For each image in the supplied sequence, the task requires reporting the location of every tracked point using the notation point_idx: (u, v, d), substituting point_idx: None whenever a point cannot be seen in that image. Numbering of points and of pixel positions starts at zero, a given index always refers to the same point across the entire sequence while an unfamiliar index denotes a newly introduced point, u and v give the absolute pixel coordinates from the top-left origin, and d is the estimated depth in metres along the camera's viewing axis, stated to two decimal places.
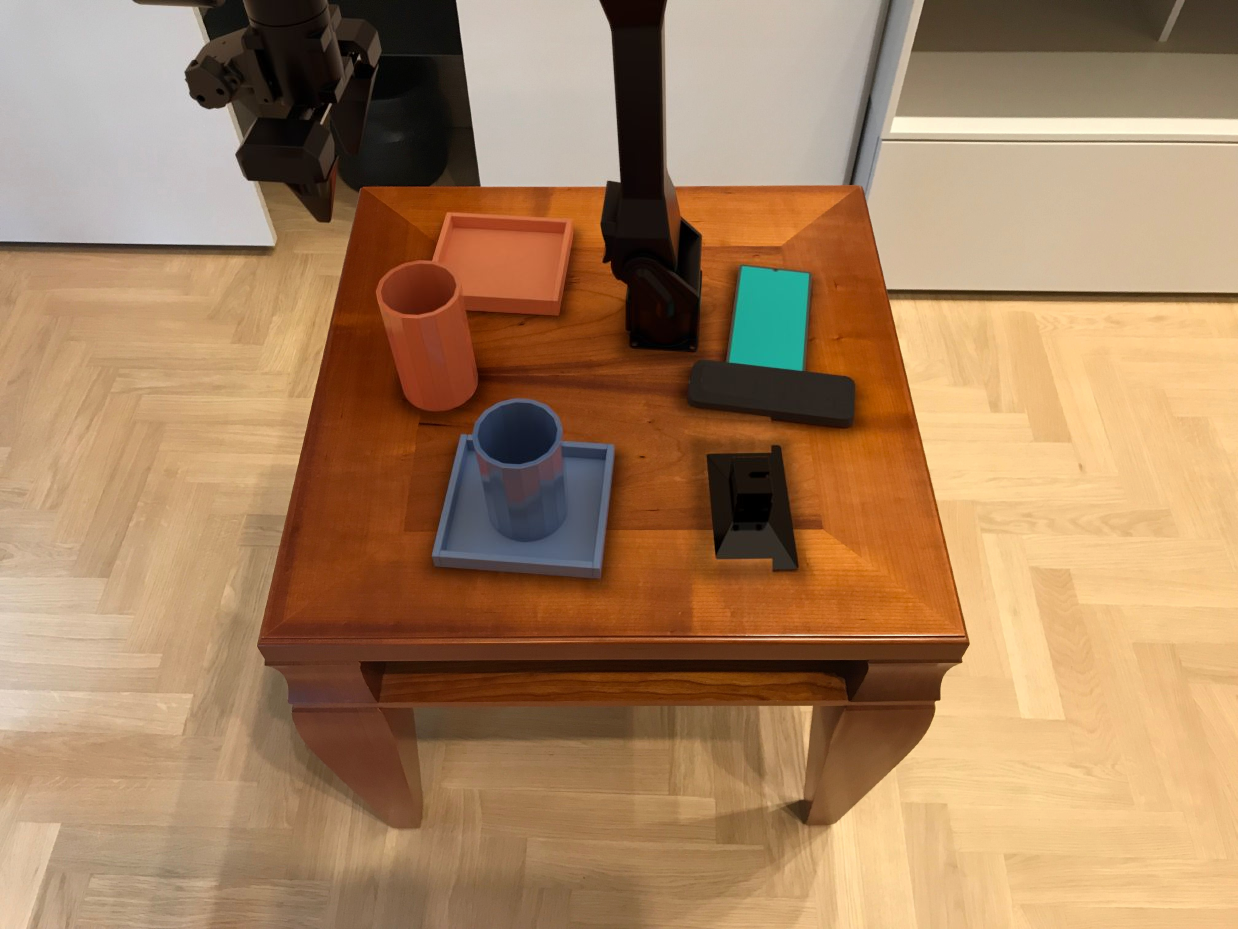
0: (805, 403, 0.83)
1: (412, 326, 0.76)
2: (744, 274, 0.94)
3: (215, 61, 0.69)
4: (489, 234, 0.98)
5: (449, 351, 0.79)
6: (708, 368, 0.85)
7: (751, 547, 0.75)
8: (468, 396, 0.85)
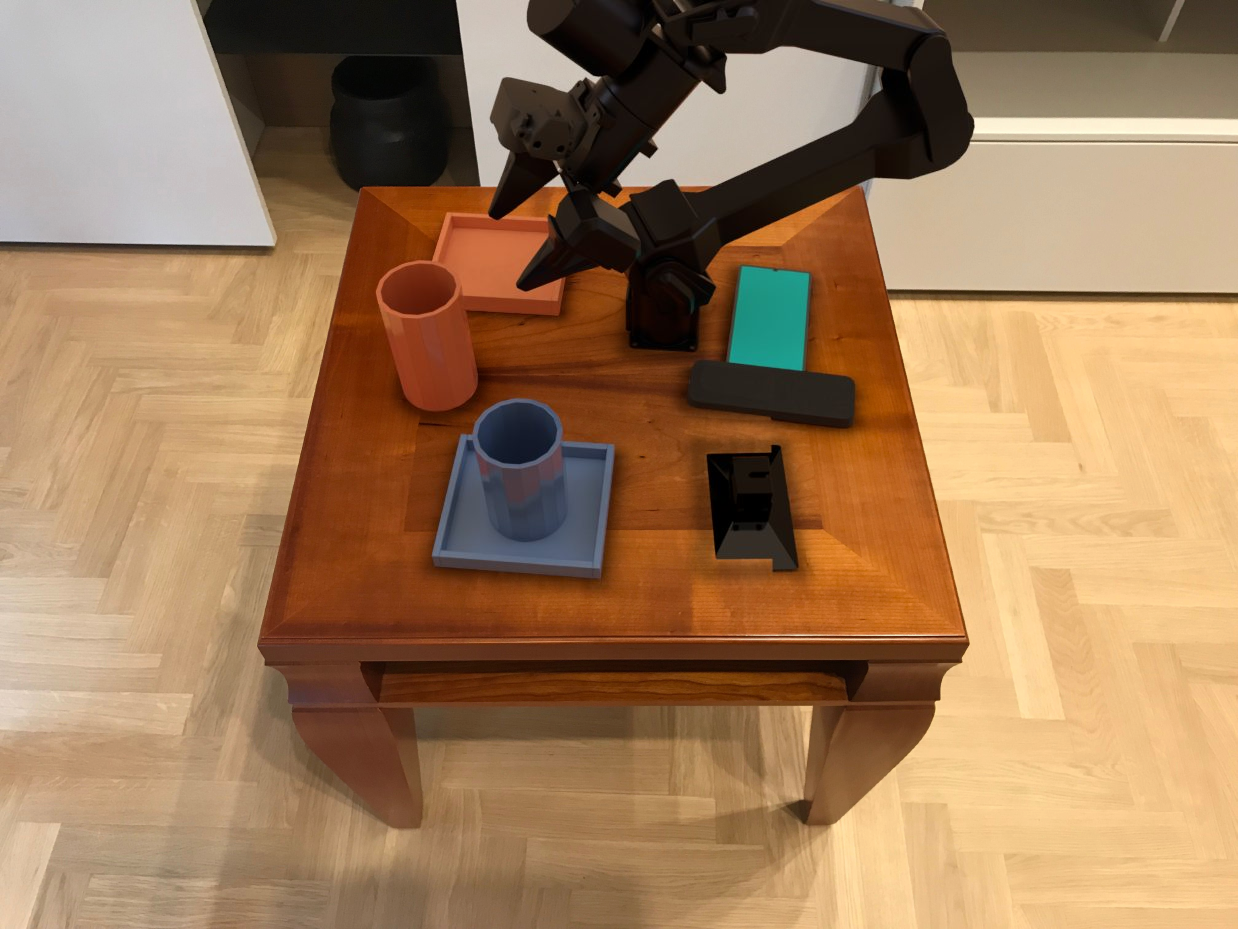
0: (805, 403, 0.83)
1: (412, 326, 0.76)
2: (744, 274, 0.94)
3: None
4: (489, 234, 0.98)
5: (449, 351, 0.79)
6: (708, 368, 0.85)
7: (751, 547, 0.75)
8: (468, 396, 0.85)
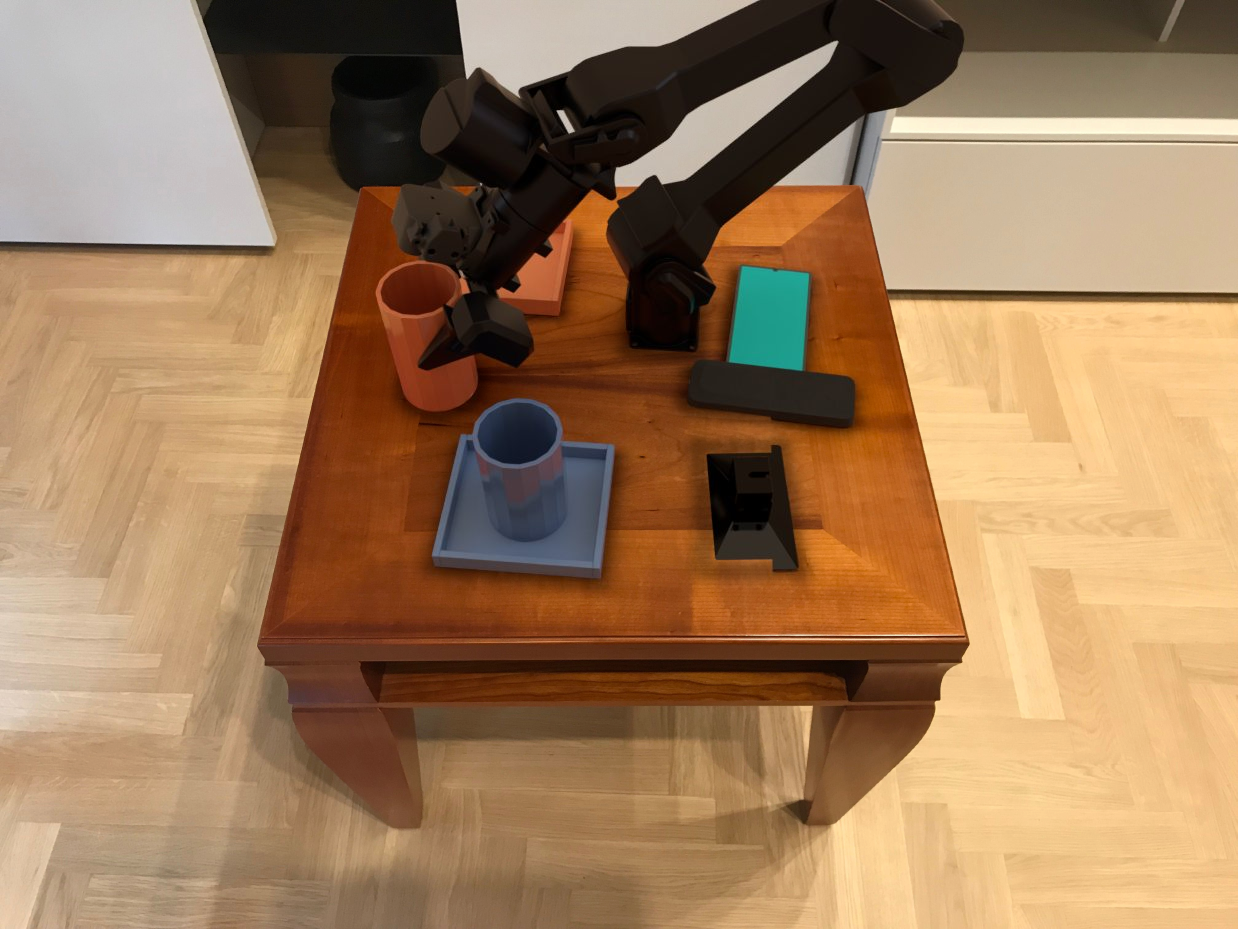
0: (805, 403, 0.83)
1: (412, 326, 0.76)
2: (744, 274, 0.94)
3: None
4: None
5: None
6: (708, 368, 0.85)
7: (751, 547, 0.75)
8: (468, 396, 0.85)
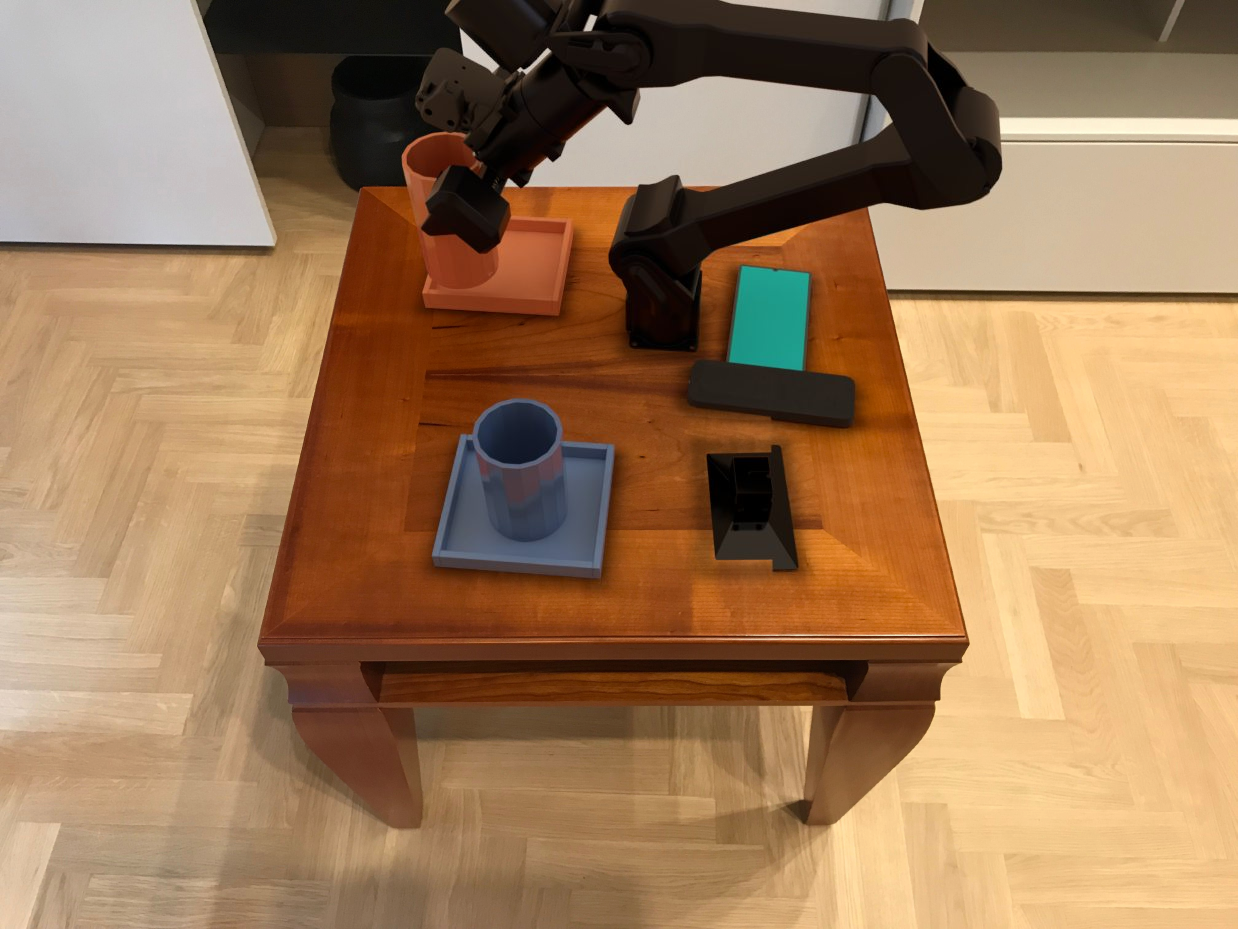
0: (805, 403, 0.83)
1: (418, 186, 0.79)
2: (744, 274, 0.94)
3: (463, 96, 0.72)
4: None
5: None
6: (708, 367, 0.85)
7: (751, 547, 0.75)
8: (474, 280, 0.87)
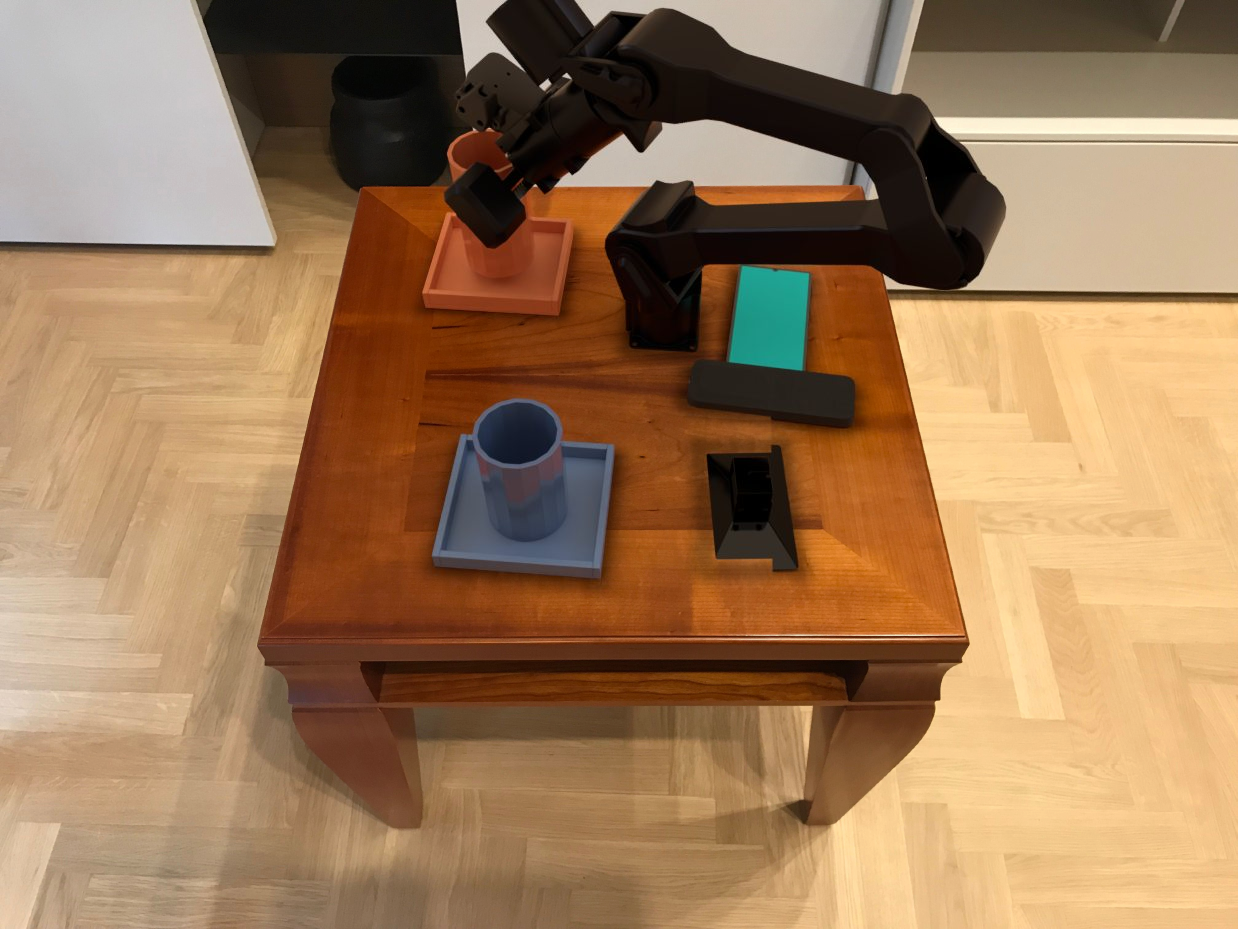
0: (805, 403, 0.83)
1: (455, 175, 0.84)
2: (744, 274, 0.94)
3: (496, 100, 0.76)
4: None
5: None
6: (708, 367, 0.85)
7: (751, 547, 0.75)
8: (502, 271, 0.92)
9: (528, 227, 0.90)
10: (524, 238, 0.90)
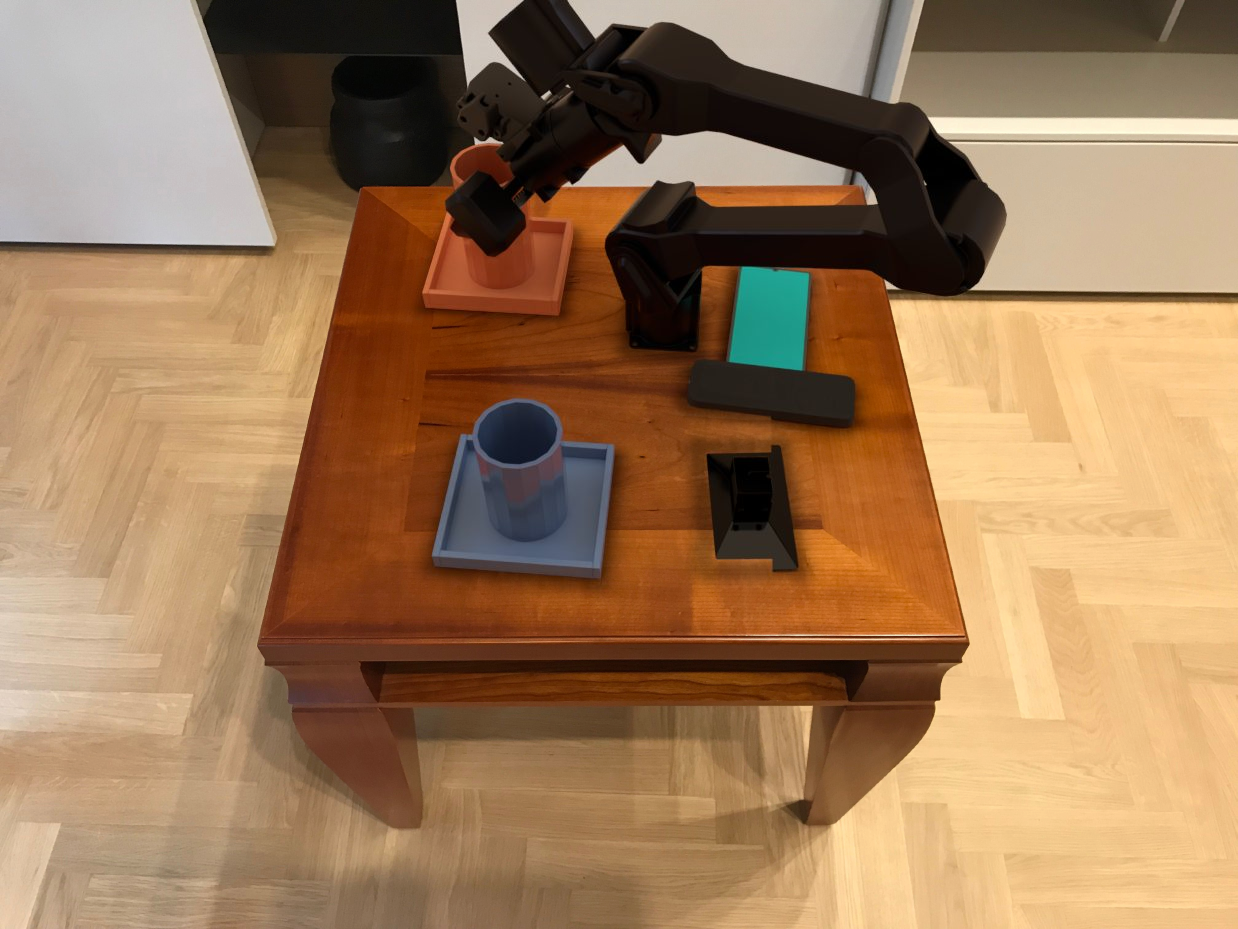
0: (805, 403, 0.83)
1: None
2: (744, 274, 0.94)
3: (497, 111, 0.77)
4: None
5: None
6: (708, 367, 0.85)
7: (751, 547, 0.75)
8: (503, 283, 0.93)
9: (529, 239, 0.91)
10: (525, 250, 0.91)
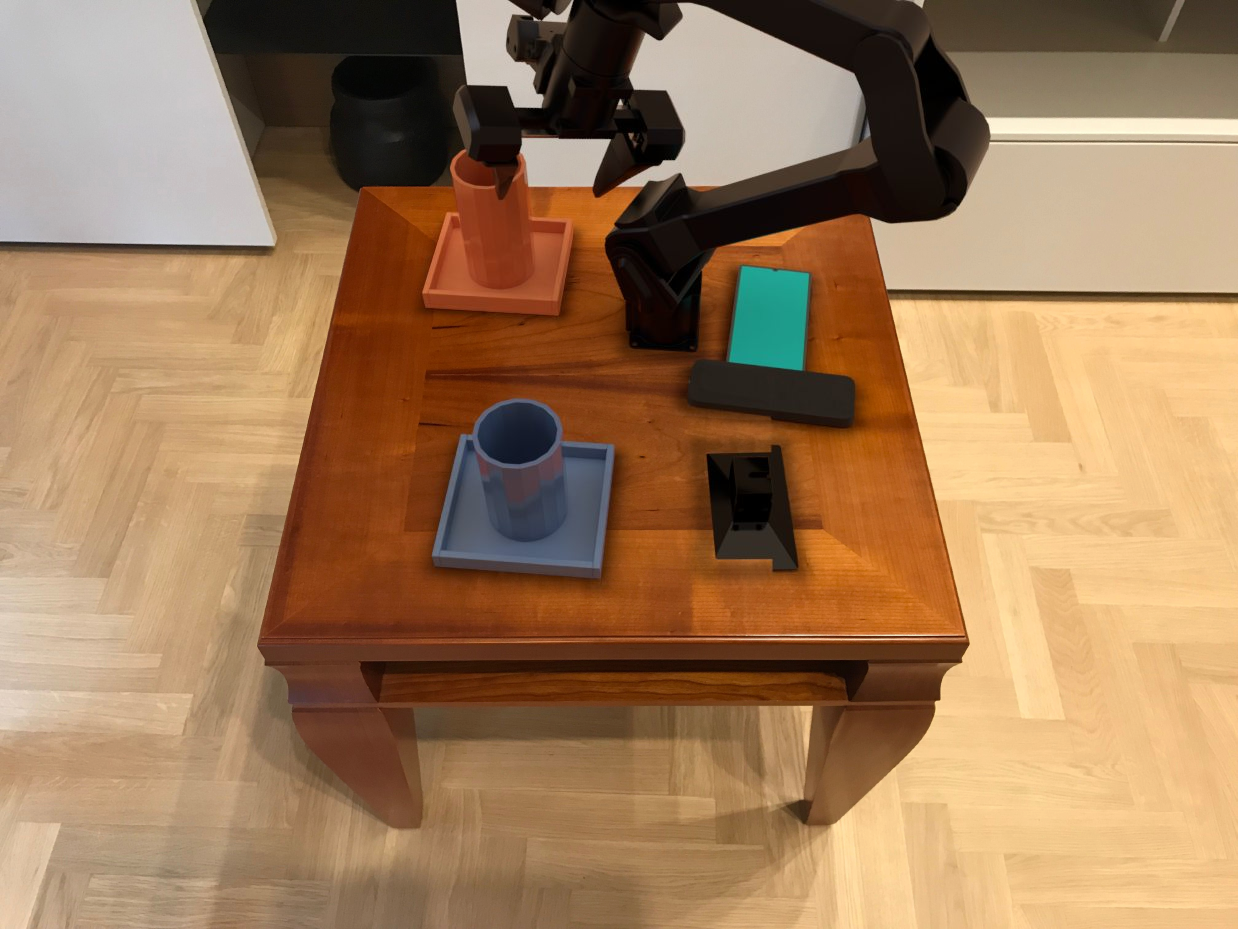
0: (805, 403, 0.83)
1: (458, 189, 0.85)
2: (744, 274, 0.94)
3: (536, 30, 0.75)
4: None
5: (486, 229, 0.88)
6: (708, 367, 0.85)
7: (751, 547, 0.75)
8: (503, 283, 0.93)
9: (529, 239, 0.91)
10: (525, 250, 0.91)
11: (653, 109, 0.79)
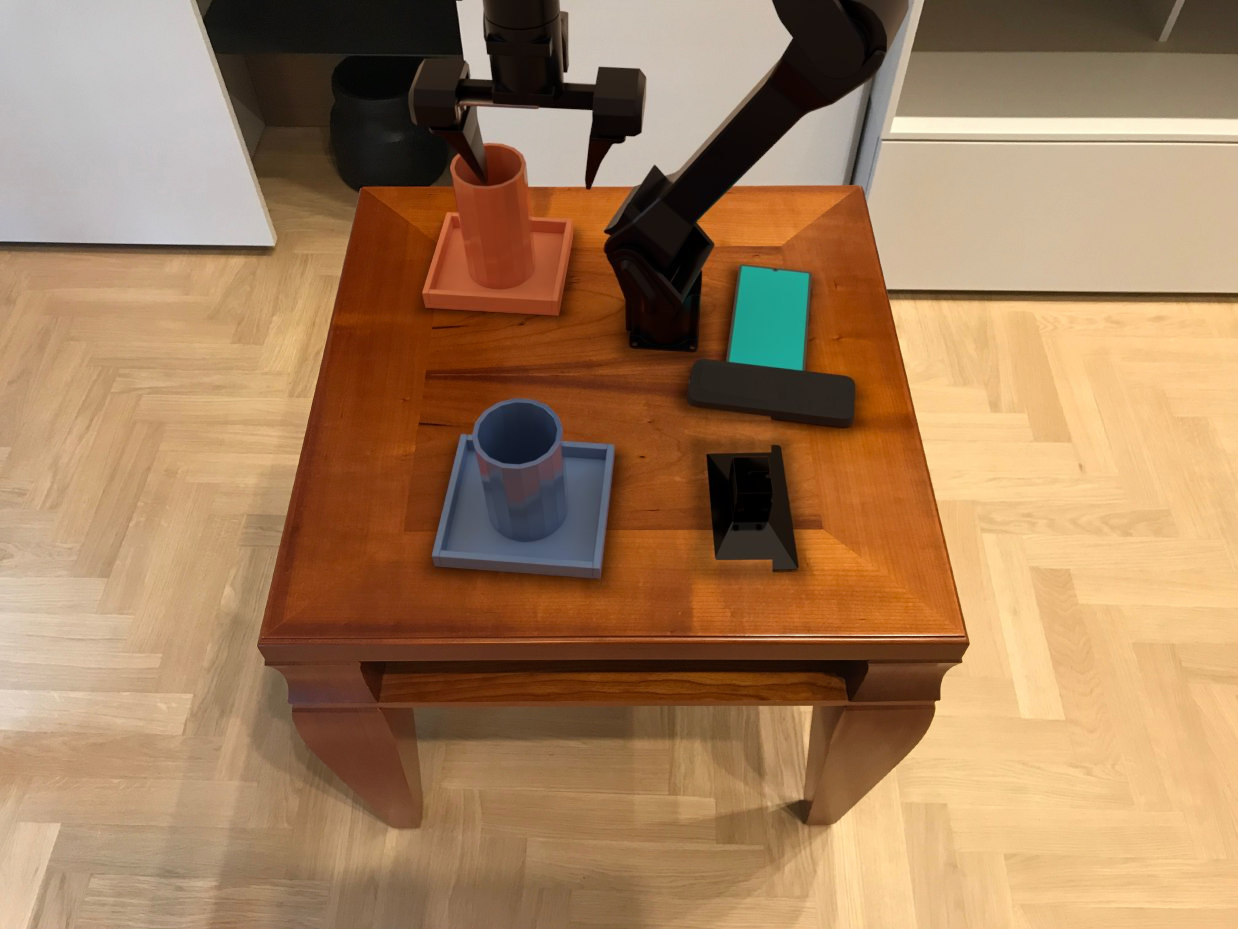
0: (805, 403, 0.83)
1: (458, 189, 0.85)
2: (744, 274, 0.94)
3: None
4: None
5: (486, 229, 0.88)
6: (708, 367, 0.85)
7: (751, 547, 0.75)
8: (503, 283, 0.93)
9: (529, 239, 0.91)
10: (525, 250, 0.91)
11: (611, 82, 0.75)
